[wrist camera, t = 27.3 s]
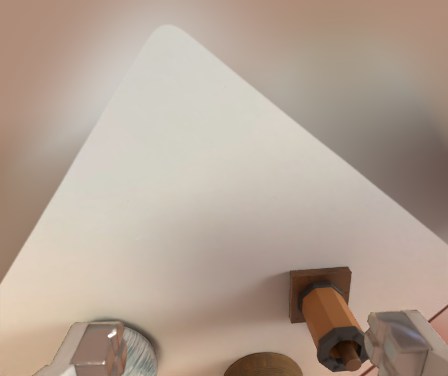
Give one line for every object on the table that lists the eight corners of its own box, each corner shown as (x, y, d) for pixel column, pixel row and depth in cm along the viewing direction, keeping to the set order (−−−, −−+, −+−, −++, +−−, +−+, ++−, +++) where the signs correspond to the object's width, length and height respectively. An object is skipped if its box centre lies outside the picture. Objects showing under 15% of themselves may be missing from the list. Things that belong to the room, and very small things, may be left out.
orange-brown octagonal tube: (342, 280, 50) (374, 330, 41) (338, 314, 52) (367, 369, 43) (299, 283, 50) (321, 334, 40) (297, 317, 52) (318, 373, 43)
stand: (347, 266, 51) (395, 334, 38) (342, 312, 54) (385, 388, 42) (290, 270, 51) (319, 340, 38) (288, 316, 54) (315, 394, 41)
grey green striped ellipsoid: (50, 356, 50) (56, 401, 41) (87, 300, 51) (101, 331, 43) (125, 378, 57) (143, 420, 48) (155, 327, 58) (179, 359, 50)
